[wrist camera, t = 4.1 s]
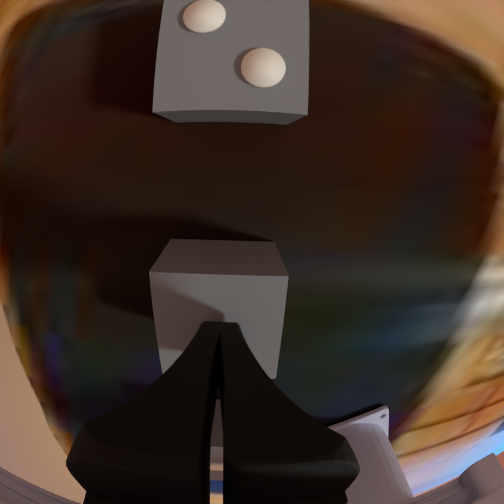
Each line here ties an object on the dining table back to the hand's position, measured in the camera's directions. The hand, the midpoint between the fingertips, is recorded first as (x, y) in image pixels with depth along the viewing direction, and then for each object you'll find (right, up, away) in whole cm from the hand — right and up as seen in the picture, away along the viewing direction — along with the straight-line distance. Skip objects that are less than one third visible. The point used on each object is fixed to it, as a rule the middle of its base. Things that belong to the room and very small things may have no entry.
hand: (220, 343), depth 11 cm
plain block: (0, +2, +4) cm, 5 cm away
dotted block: (0, +12, +1) cm, 12 cm away
